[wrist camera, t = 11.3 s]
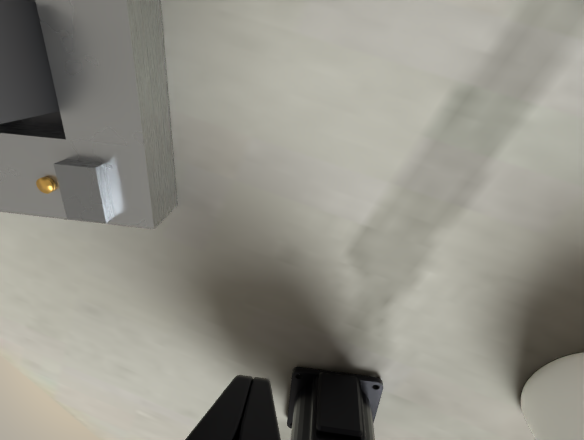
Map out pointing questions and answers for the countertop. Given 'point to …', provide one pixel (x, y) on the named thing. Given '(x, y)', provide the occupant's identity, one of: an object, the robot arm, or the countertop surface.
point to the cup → (556, 400)
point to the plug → (23, 64)
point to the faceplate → (96, 120)
